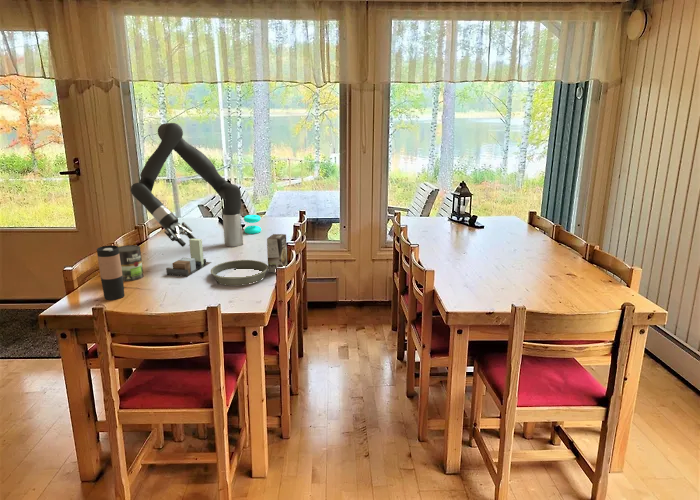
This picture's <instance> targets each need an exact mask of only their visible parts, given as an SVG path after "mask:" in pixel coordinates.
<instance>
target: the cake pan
mask: <svg viewBox="0 0 700 500" xmlns="http://www.w3.org/2000/svg"><path fill="white" fill-rule="evenodd" d="M232 269H233V270H236V269H254V270H259V271H262V272H261V273H258V274H255V275H252V276H246V277H224V276H220V275H219V273H221V272H224V271H226V270H227V271H228V270H232ZM267 272H268V263H265V262H263V261H259V260H254V259H237V260H235V259H234V260H229V261H225V262H220V263H218V264H217V265H214V266H213V267H212V268H211V269H210V273H211V275H212V276H213V277H214V279H215V280H216V282H217V283H218V284H220V283H221V284H220V285H223V284H226V285H225V286H229V285H242V284H249V283H253V282H256V281H259V280H261V279H262V278H264V279H265V277H266V273H267ZM264 276H265V277H264ZM261 281H262V280H261ZM259 282H260V281H259ZM253 284H254V283H253ZM249 285H250V284H249ZM242 286H243V285H242Z"/></svg>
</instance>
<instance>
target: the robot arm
mask: <svg viewBox="0 0 700 500" xmlns="http://www.w3.org/2000/svg"><path fill="white" fill-rule="evenodd" d="M157 135H158V137H159V140H161V141H160V143H159V145H158V146H157V148H156V149H155V150H154V152H153V153H152V154H151V156H150V157H149V158H148V159H147V161H146V162H145V164H144V166H143V167H142V169H141V171H140V178H139V179H140V180H139V181H138V182H134V183H133V184H132V185H131V187H130V193H131V195H132V196H133V197H134V198H135V199H136V200H137V201H138V202H139V203H140V204H141V205H142V206H143V207H145V209H146V210H147V212H148V213H149V214H150V215H152V217H153V218H154V220H156V222H157V223H158V224H159V225H160V226H161V227H162V228H163V229H164V234H165V235H166V236H167V237H168V239H170V241H171V242H177V243H178V244H179V245H180V246H181V247H183V248H184V247H185V246H186V244H187V243H186V242H185V241H184V240H183V239H182V238H181V237H180V235H182V236H186V237H187V238H188V239H189V240H190V239H197V238H196V237H195V236H194V235H193V233H192V232H193V230H192V228H190V226H189V225H188V224H187V223H185V222H184V221H183V222H182V223H180V222H179V219H178V217H177V216H176V215H175V214H174V213H173V212H172V211H171V210H170V209H169V208H168V207H167V206H166V205H164V203H162V201H161V200H159V198H157V197H156V196H155V195H154V194H153V193H152V191H153V189H154V186H155V182H156V180H157V179H158V177H159V174H160V173H161V170H162V168H163V167H164V165H165V163H166V161H167V160H168V158H169V156H170V155H171V153H172V152H173V151H174V152H176V154H177V155H179V157H180V158H182V160H183V161H184V162H185V163H186V164H188V166H189V167H190V168H191V169H192V170H193V171H194V172H195V173H196V174H197V175H198V176H199V177H201V178H202V179H203V180H204V181H206V183H208V184H209V185H210V186H211V187H212V188H213V190H214V191H215V192H216V193H217V194H218V196H219V197H220V199H222V200H224V206H223V208H222V210H221V213H222V225H223V239H224V246H226V247H231V248H232V247H239V246H242V245H244V236H243V227H242V219H241V209H242V192H241V189H240V187H239V186H238V185H236V184H233V183H230V182H228V181H227V180H226V179H225V178H223V176H221V174H220V173H219V172H218V170H217V169H216V167H215V165H214V163H213V162H212V161H211V160H210V159H209V158H208V157H207V156H206V154H204V153H203V152H202V151H200V150H199V149H198V148H196V147H195V146H192V144H190V143H189V142H187V141H186V140H185V139H184V138H183V135H184V132H183V128H182V126H181V125H179V124H178V123H175V122H166V123H163V124H160V125H159V126H158V128H157Z"/></svg>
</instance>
